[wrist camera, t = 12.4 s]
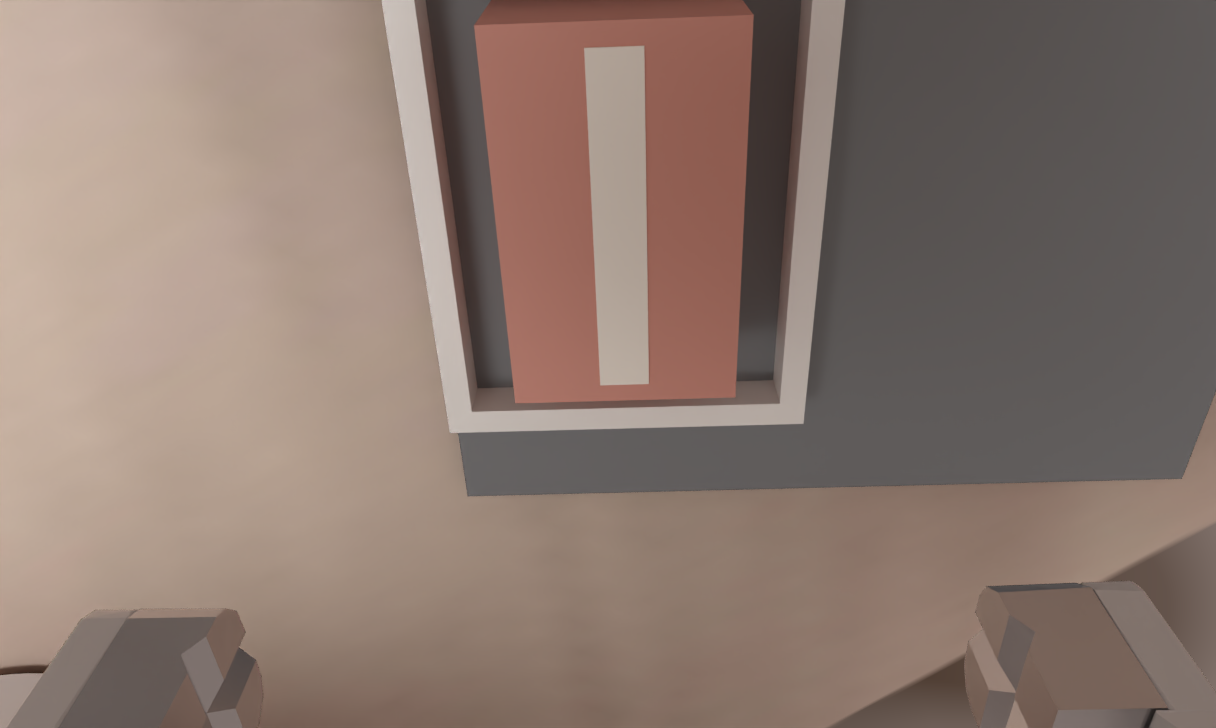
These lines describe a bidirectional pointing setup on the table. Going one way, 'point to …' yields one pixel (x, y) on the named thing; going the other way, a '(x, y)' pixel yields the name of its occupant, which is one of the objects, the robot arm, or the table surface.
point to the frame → (502, 414)
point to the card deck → (618, 192)
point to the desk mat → (929, 255)
